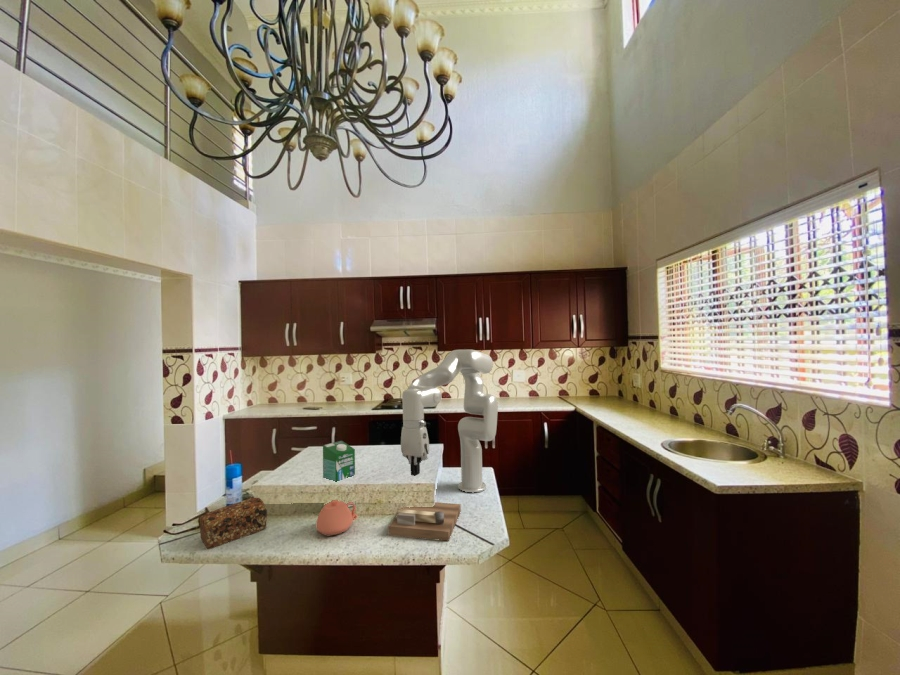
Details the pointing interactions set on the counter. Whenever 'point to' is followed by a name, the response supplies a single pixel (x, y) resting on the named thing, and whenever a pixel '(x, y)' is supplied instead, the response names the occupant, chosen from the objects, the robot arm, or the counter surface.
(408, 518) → the wooden board
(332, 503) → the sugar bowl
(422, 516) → the folding leg
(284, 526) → the counter surface
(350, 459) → the milk carton
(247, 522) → the bread
